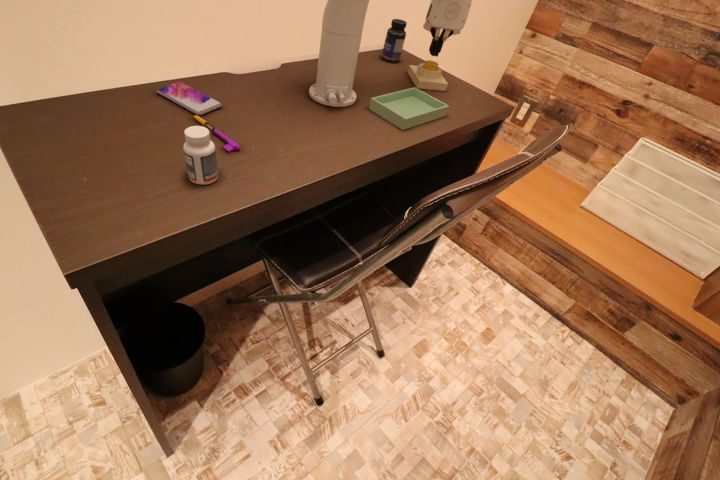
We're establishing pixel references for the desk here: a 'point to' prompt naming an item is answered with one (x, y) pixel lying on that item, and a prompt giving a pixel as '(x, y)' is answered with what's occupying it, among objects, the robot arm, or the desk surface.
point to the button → (430, 65)
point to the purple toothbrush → (231, 144)
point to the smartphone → (189, 98)
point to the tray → (408, 107)
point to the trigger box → (427, 78)
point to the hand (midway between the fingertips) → (433, 54)
